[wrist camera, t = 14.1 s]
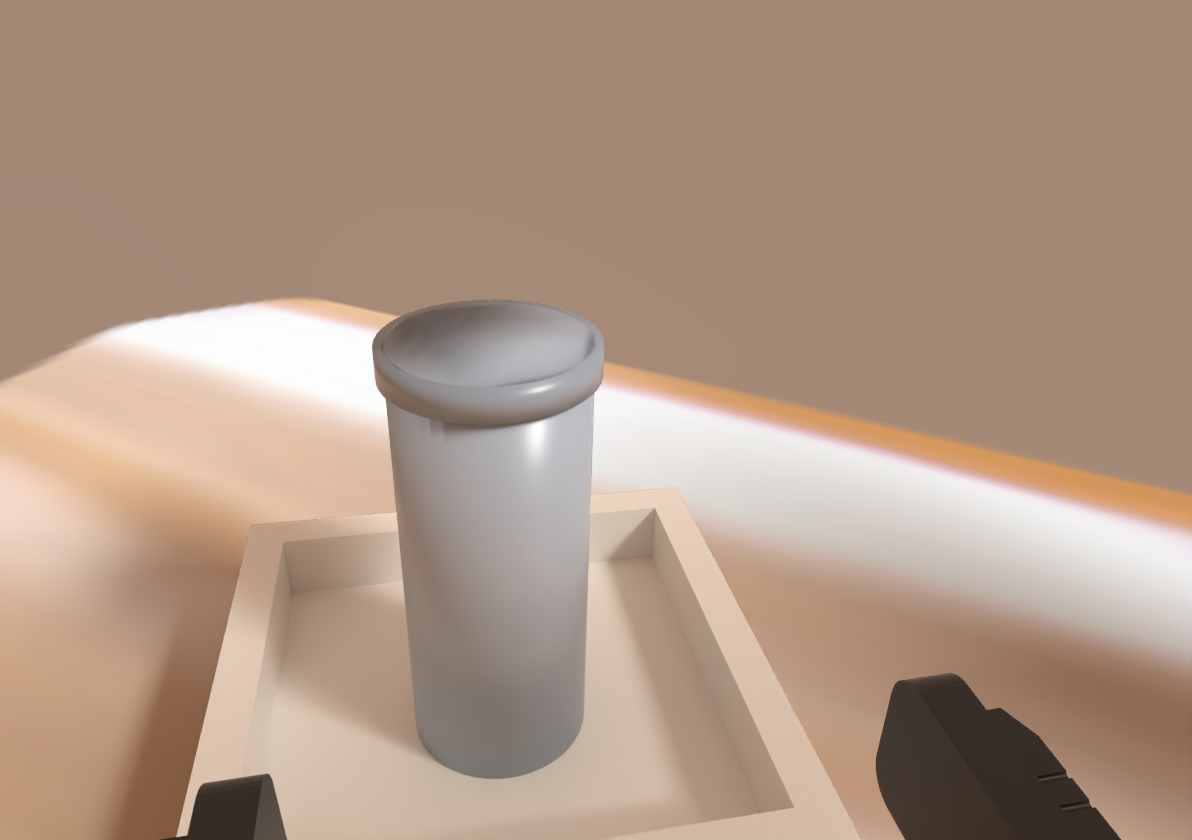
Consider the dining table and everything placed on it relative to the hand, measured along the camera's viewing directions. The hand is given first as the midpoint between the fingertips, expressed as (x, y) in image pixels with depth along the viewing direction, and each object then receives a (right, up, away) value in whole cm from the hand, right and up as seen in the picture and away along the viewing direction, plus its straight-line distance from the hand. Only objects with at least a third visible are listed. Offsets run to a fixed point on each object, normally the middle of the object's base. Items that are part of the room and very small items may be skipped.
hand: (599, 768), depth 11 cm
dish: (-3, -5, +16) cm, 17 cm away
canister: (-3, -4, +15) cm, 16 cm away
